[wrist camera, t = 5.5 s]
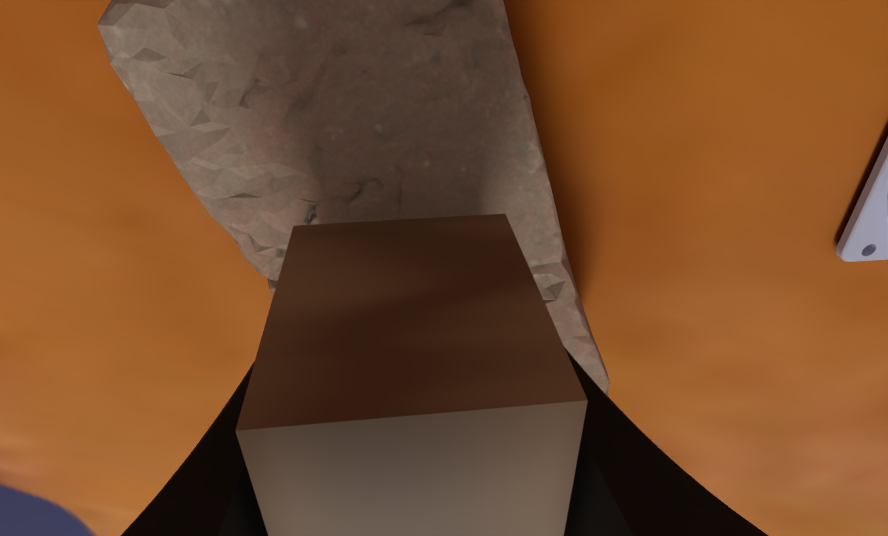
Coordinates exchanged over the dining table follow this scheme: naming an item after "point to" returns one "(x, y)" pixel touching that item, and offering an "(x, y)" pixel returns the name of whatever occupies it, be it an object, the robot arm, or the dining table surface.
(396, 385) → the walnut block
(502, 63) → the brick
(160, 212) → the dining table surface
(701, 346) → the dining table surface
